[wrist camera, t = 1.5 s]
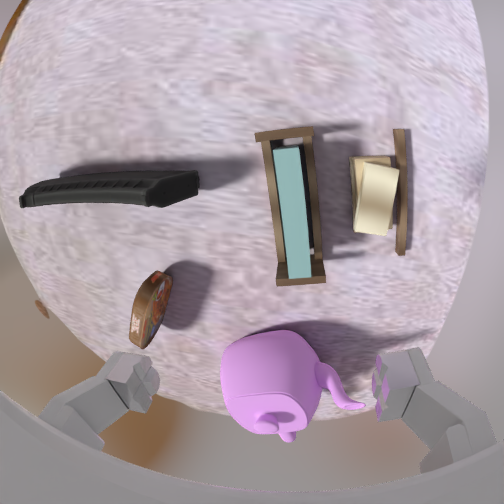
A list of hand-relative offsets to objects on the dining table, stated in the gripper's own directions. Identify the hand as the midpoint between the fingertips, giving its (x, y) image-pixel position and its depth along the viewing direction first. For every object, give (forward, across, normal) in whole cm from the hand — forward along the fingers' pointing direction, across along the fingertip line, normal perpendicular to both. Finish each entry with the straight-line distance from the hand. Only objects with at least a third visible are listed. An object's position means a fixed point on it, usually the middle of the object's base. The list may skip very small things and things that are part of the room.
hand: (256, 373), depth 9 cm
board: (+28, -1, 0) cm, 29 cm away
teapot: (+29, +4, +28) cm, 41 cm away
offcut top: (+26, -11, 0) cm, 29 cm away
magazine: (+28, +26, -6) cm, 39 cm away
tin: (+29, +23, +14) cm, 40 cm away
